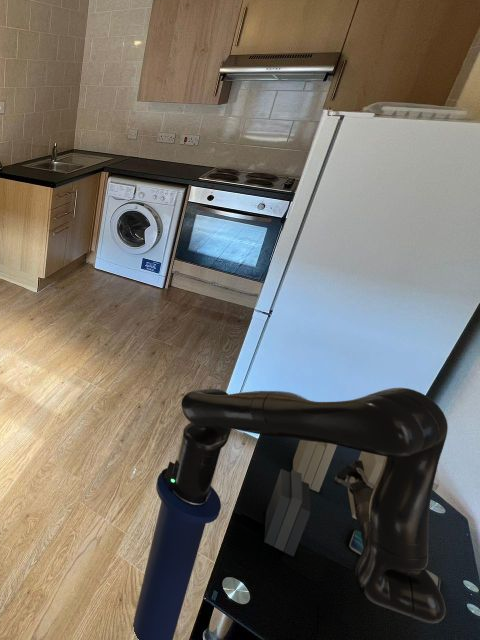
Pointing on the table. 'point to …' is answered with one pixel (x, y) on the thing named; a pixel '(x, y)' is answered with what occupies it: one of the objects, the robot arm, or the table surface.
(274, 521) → the grey books
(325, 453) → the beige books
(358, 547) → the smartphone
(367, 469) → the beige thin block
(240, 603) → the table surface
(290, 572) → the table surface
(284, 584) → the table surface
